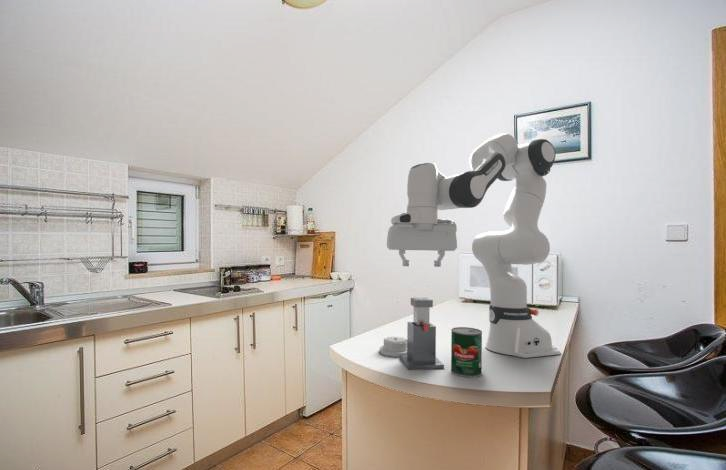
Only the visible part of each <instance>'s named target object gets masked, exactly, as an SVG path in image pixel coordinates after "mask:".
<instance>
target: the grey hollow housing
mask: <svg viewBox="0 0 726 470" xmlns="http://www.w3.org/2000/svg"><path fill="white" fill-rule="evenodd" d="M436 329H437V327H436V325H435V324H432V323H431V322H430V321H429V326H428V323H422V326H415V325H414V324H413V321H407V331H406V332H407V336H406V337H407V338H406V339H407V355H400V357H399V359H400V361H401V362H402V363H403V365H404V366H405V367H406V368H407V370H409V371H411V370H413V371H415V370H438V369H439V370H442V369H445V364H444V363H443V362H442V361H441V360H440V359H438V358H437V357H436V356H437V354H436V353H437V351H436V349H437V345H436V344H437V343H436V342H437V337H436V336H437V333H436V332H437V330H436Z"/></svg>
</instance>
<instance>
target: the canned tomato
mask: <svg viewBox="0 0 726 470" xmlns="http://www.w3.org/2000/svg"><path fill="white" fill-rule="evenodd" d="M450 330H451V336H450V337H451V340H450V341H451V342H450V343H451V345H450V346H451V349H450V351H451V352H450V353H451V354H450V355H451V356H450V357H451V358H450V359H451V360H450V365H451V366H450V371H451V373H452V374H454V375H457V376H459V377H463V378H477V377H478V378H479V377H480V376H482V374H483V372H482V369H483V368H482V367H483V365H482V364H483V362H482V358H483V356H482V355H483V352H482V351H483V336H482V335H483V331H482V330H481V329H479V328H473V327H468V326H467V327H466V326H464V327H463V326H459V327H458V326H457V327H452V328H451V329H450Z"/></svg>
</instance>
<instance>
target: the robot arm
mask: <svg viewBox="0 0 726 470" xmlns="http://www.w3.org/2000/svg"><path fill="white" fill-rule="evenodd" d="M555 149H556V148H554V145H553V144H552V143H551V142H550V141H549V140H548V139H545V138H541V139H540V138H539V139H534V140H531V142H526V143H523V144H518V141H517V139H516V138H515V137H514V135H512V134H509V133H499V134H497V135H494V136H492V137H490V138H488V139H487V140H485V141H484V142H482V143H481V144H480V145H478V146H477V147H476V148H475V149H474V150H473V151H472V152H471V154H470V157H469V165H470V168H471V170H469V171H465V172H461V173H459V174H454V175H451V176H446V175H444V174H443V173H441V172H440V171H439V169H438V168H437V165H436V163H433V162H424V163H418V164H416V165H413V166H411V168H410V169H409V172H408V176H407V188H406V189H407V192H406V194H407V199H408V203H407V206H406V212H403V213H400V214H399V215H398V214H397V215H395V216H393V217H391V219H390V224H392V225H391V226H389V228H388V231H387V237H386V247H387V249H388V250H389V251H390V250H393V251H398V255H399V257H400V259H401V260H402V267H409V266H410V264H409V263H410V260H409V259H407V258H406V256H405V254H406V251H433V252H434V251H437V255H438V257H437V259H436V260H433V263H434V264H433V266H434V267H436V268H438V267H439V268H440V267H441V266H442V260H443V259H444V257H445V255H446V252H455V251H456V250H457V248H458V242H457V232H458V231H457V223H456V222H455V221H454V220H452V219H443V218H442V219H439V215H438V214H439V213H438V212H439V211H446V210H454V209H470V208H472V209H473V208H476V207H477V206H479V205H480V204H481V203H482V201H483V199H484V197H485V195H486V193H487V191H488V190H489V188H490V187H491V186H492V185H493V184H494V182H495V181H496V180H499V181H501V182H511V181H513V180H515V186H514V188H513V190H512V191H511V193H510V195H509V199H508V201H507V203H506V206H505V209H504V211H503V219H504V221H505V223H506V224H507V225H508V226H509V227H511V228H510V229H508V230H503V231H501V230H498V231H497V230H496V231H487V232H484V233H480V234H477V235H476V236H475V237H474V239H473V240H472V241H473V242H472V243H471V250H472V254H473V256H474V257H475V259H476V260H477V261H479V262H480V263H481V265H482V266H483V267H484V269H485V271H486V273H487V277H488V281H489V292H490V304H489V307H488V309H489V311H488V318H489V321H488V322H489V329H488V337H487V340H486V343H485V348H486V349H487V350H489V351H492V352H494V353H498V354H503V355H508V356H509V355H510V356H514V357H517V358H523V359H525V358H527V359H528V358H529V359H530V358H536V357H537V358H538V357H545V356H546V357H547V356H554V355H557V356H558V355H561V350H560V349H559V348H558V347H556V346H554V345H553V342H552V337H551V333H550V332H549V331H548V330H547V329H545V327H543V326H542V325H540V324H539V323H538V322H536V321H535V320H534V319H533V316H537V317H538V315H539V314H540V313H539V310H538V309H536V308H530V307H528V303H527V302H528V300H527V299H528V298H527V297H528V296H527V295H528V291H527V289H528V287H527V283H526V281H525V280H524V279H523V278H522V277H520V276H519V275H517V274H516V272H514V270H513V266H512V265H524V266H526V265H534V264H540V263H543V262H544V261H546V259H547V258H548V256H549V255H550V249H551V245H550V241H549V239H548V238H547V236H546V235H545V234H544V233H543V232H542V231H540V229H539V226H538V223H539V218H540V215H541V211H542V208H543V206H544V203H545V199H546V194H547V181H546V180H545V178H544V177H545V176H547V175H548V174H549V173H550V172H551V168H552V167H553V166H554V163H555V161H556V150H555Z"/></svg>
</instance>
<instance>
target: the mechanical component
mask: <svg viewBox="0 0 726 470" xmlns="http://www.w3.org/2000/svg"><path fill="white" fill-rule="evenodd" d="M379 353H380V354H381V355H383V356H386V357H395V358H400V355H407V338H404V337H401V336H387V337H384V338H383V345H381V346H380V347H379Z"/></svg>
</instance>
